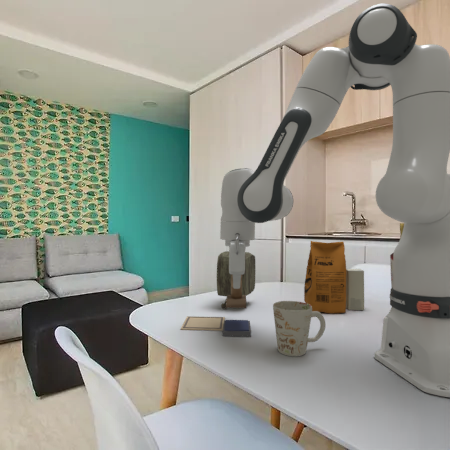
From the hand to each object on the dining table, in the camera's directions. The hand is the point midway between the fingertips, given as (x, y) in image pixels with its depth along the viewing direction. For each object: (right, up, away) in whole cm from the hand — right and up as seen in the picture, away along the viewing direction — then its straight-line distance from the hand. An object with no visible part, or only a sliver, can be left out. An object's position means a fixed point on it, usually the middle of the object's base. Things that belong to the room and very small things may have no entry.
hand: (236, 286), depth 86 cm
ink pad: (0, -11, 0) cm, 11 cm away
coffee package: (+29, -12, +21) cm, 37 cm away
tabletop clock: (+1, -11, +25) cm, 27 cm away
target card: (-9, -11, +5) cm, 15 cm away
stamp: (0, -5, 0) cm, 5 cm away
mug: (+14, -12, -13) cm, 22 cm away
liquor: (+47, -12, +8) cm, 50 cm away
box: (+39, -12, +23) cm, 46 cm away
